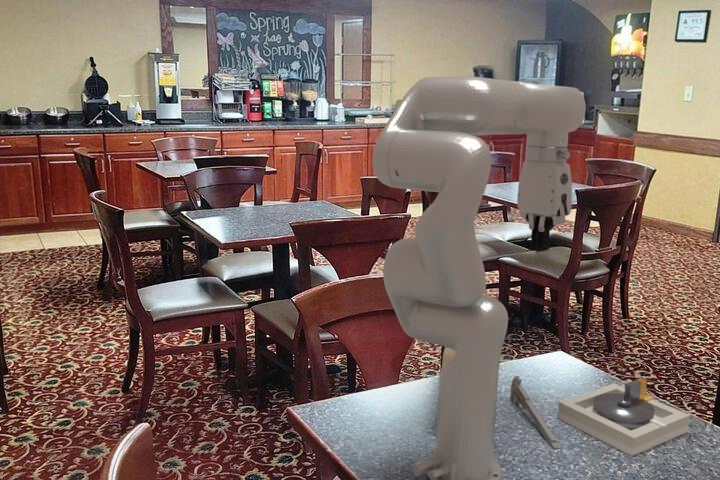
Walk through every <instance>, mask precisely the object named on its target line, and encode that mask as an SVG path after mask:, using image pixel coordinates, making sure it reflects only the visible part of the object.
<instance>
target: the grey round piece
mask: <svg viewBox="0 0 720 480" xmlns="http://www.w3.org/2000/svg"><path fill="white" fill-rule="evenodd" d="M624 384H625V386H624V388H625V394H622V393H605V394H600V395H598V396H596V397H595V398H594V403H593V413H595V414H597V415H599V416H601V417H604V418H606V419H608V420H610V421H612V422H614V423H616V424H618V425H620V426H622V427H625V428H627V429H629V430H631V431H632V430H634V429H637V428H639V427H642V426H644V425H647V424H649V423H652V422H650V420H652V419H653V418H654V407H653V406H652V405H651V404H650V403H648V402H647V401H645V396H646V389H647V379H645V378H643V377H640V378H636V379H635V380H633V381H630V382H627V383H624Z"/></svg>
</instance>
